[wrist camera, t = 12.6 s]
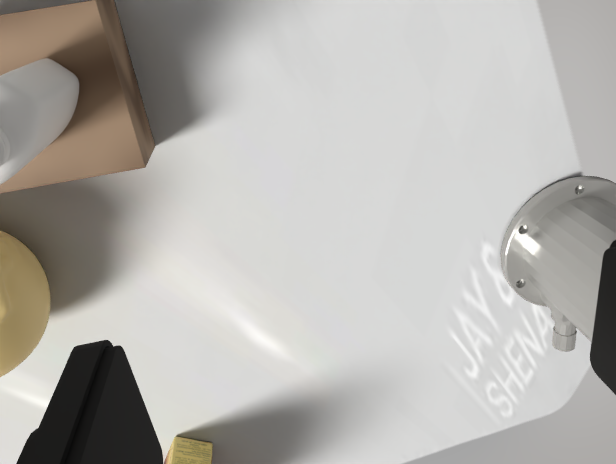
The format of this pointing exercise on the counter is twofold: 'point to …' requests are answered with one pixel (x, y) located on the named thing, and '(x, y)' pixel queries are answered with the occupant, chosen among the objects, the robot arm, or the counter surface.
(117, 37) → the walnut base
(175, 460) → the candy box
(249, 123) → the counter surface
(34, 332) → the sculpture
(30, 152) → the eye dropper bottle
